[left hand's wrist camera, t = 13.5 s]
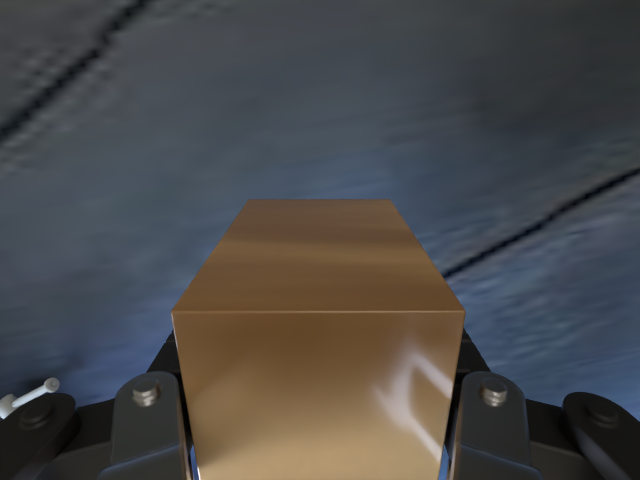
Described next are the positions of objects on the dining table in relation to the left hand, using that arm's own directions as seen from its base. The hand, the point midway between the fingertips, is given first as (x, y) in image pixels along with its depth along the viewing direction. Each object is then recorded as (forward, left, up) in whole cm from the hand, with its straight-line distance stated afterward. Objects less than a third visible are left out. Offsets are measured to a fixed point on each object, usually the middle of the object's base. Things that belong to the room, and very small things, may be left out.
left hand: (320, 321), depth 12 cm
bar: (+6, -8, -4) cm, 11 cm away
